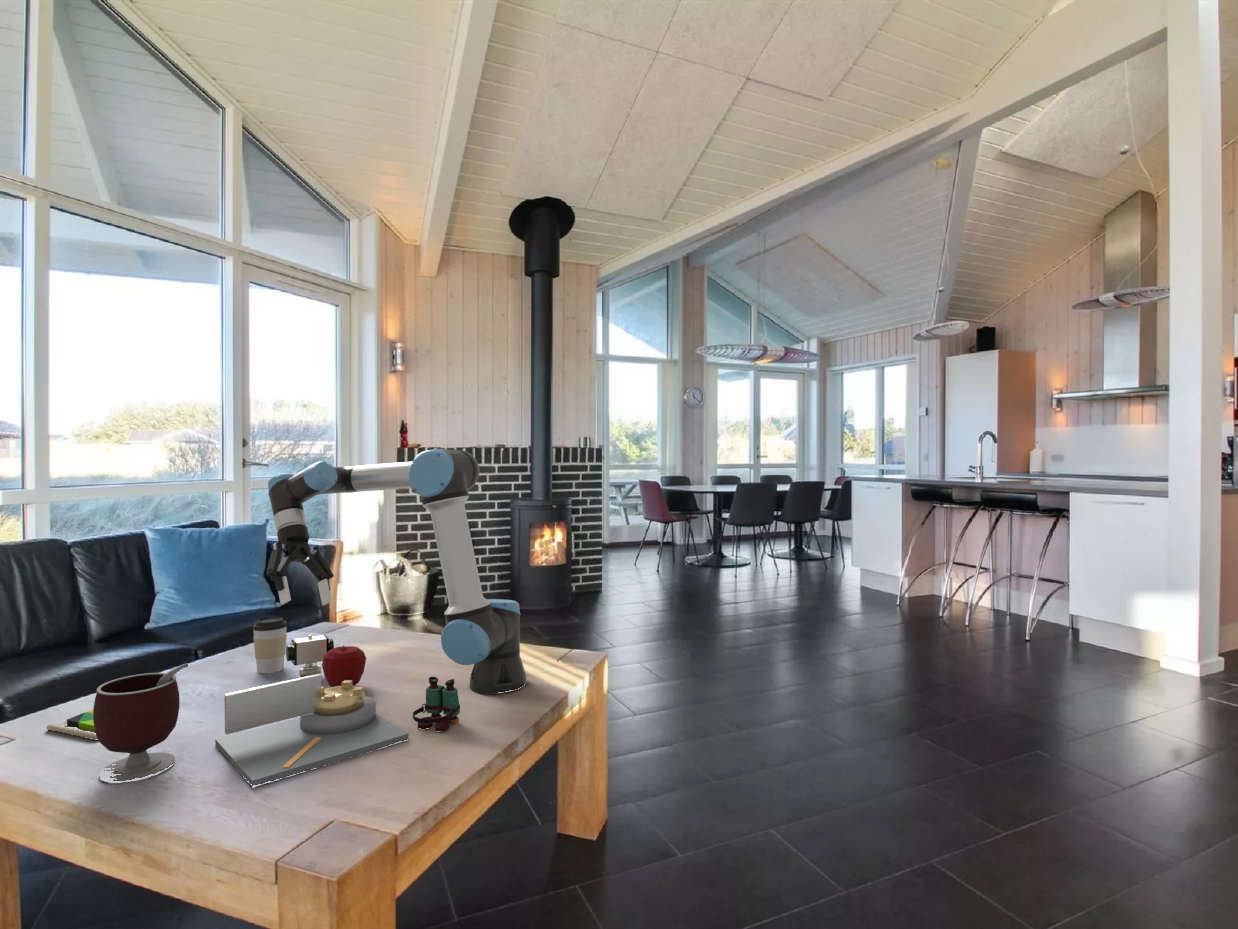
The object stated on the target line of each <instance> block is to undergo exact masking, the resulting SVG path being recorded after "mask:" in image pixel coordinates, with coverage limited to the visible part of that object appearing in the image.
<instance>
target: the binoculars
mask: <svg viewBox="0 0 1238 929" xmlns="http://www.w3.org/2000/svg"><path fill="white" fill-rule="evenodd" d="M438 682H439V678H438V677H437V676H430V677H428V683H429V685H428V686H427V687H426V688H425V703H422V705H421V707H419V708H418V709H415V710H414V711H413V712H412V719H413V720H414V722H417V728H418V729H419V728H421V729H426V728H430V727H431V728H432V727H433V724H434V730H436V731H443V732H445V731H447V730H449V729H450V727H451V725H455V724H459V722H460V721H459V720H460V719H459V716H458V715H459V714H460V713H461V711H460V710H461V704H460V699H459V692H458V688H457V687H455V686H454V685H455V679H454V678H451V679H448V680H447V681H445V682H444V683H445V684H444V685H445V686H444V685H439V684H438ZM421 713H422V714H425V713H426V714H430V716H424V717H417V716H416V715H418V714H421ZM441 713H443V715H444V716H443V715H442V714H441ZM431 728H430V729H431ZM436 731H435V732H436Z"/></svg>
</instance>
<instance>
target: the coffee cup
mask: <svg viewBox="0 0 1238 929" xmlns="http://www.w3.org/2000/svg"><path fill="white" fill-rule="evenodd" d="M287 623H288V621H287V620H284V618H283V617H281V616H272V617H271V616H263V617H260V618H259V619H258V620H256V623H254V624H253V625H252V630H253V647H254V658H255V663H256V673H258V674H261V673H267V674H273V672H274V673H277V671H278V672H280V670H281V671H282V670H284V666H285V656H286V646H287V636H288V635H287V634H288V633H287V627H288V624H287Z"/></svg>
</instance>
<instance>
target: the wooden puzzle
mask: <svg viewBox="0 0 1238 929" xmlns="http://www.w3.org/2000/svg"><path fill="white" fill-rule="evenodd" d="M61 724H67V726H66V725H64V726H65V727H77V728H78V729H80V730H83V731H79V730H74V729H69V728H65V727H60V726H57V725H53V724H48V725H46V730H47V729H48V731H49V730H53V731H52V732H54V731H59V732H63V733H62V734H64V733H67V734H66V735H68V734H73V735H77V736H76V737H78V736H81V737H80V738H82V737H87V738H92V739H97V736H96V735H95V734H93V733H88V732H84V731H90V732H94V733H96V732H95V727H94V722H93V709H90V710H88V711H85V712H82V713H79V714H77V715H74V716H73V717H70V718H67V719H66V721H64V722H63V723H59V725H61ZM59 732H58V733H59ZM73 735H72V736H73ZM87 738H86V739H87Z"/></svg>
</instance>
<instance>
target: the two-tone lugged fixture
mask: <svg viewBox="0 0 1238 929" xmlns="http://www.w3.org/2000/svg"><path fill="white" fill-rule="evenodd" d="M322 684H323V683H322V674H315V675H311V676H306V677H298V678H293V679H289V680H288V679H287V680H284V681H279V682H275V683H271V684H265V685H261V686H256V687H250V688H246V689H242V690H236V691H233V692H228V693H224V734H225V735H226V736H228V735H230V734H231V735H232V734H236V733H240V732H244V731H248V730H252V729H255V728H259V727H263V726H267V725H271V724H275V723H279V722H281V721H282V722H283V721H287V720H291V719H293V718H294V719H295V718H299V717H300V716H302V715H306V714H310V713H315V714H318V715H324V716H333V715H342V714H347V713H350V712H353V711H356V710H358V709H360V708H361V707H363V706H364V696H365V687H364V686H358V685H355V686H352V680H345V681H343V682H342V686H335V687H331V686H329V687H326V688H325V686H322Z"/></svg>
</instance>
